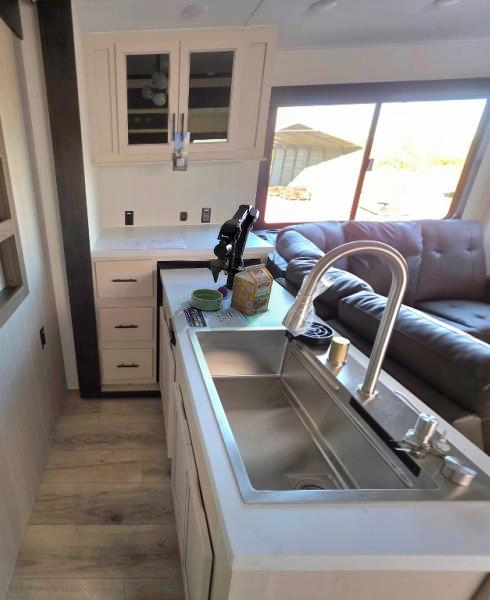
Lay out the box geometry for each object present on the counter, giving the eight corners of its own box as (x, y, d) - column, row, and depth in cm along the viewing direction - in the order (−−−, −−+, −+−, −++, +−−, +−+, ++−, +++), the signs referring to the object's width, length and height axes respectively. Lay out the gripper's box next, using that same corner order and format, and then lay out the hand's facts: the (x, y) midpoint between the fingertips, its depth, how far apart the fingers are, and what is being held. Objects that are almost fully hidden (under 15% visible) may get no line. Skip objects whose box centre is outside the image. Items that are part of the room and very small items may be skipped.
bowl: (205, 296, 145) (206, 286, 143) (228, 306, 135) (229, 295, 133) (184, 303, 138) (185, 293, 136) (207, 314, 128) (208, 303, 126)
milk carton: (249, 315, 127) (256, 271, 120) (230, 305, 136) (236, 263, 128) (267, 310, 132) (275, 267, 124) (247, 301, 140) (254, 260, 133)
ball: (221, 293, 148) (222, 284, 146) (229, 297, 145) (231, 287, 143) (214, 296, 146) (215, 286, 144) (222, 299, 142) (224, 289, 140)
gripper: (198, 250, 140) (196, 283, 146) (233, 260, 126) (228, 296, 132) (215, 246, 145) (212, 278, 152) (250, 255, 131) (245, 290, 138)
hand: (223, 285), depth 143 cm, fingers open, 9 cm apart
